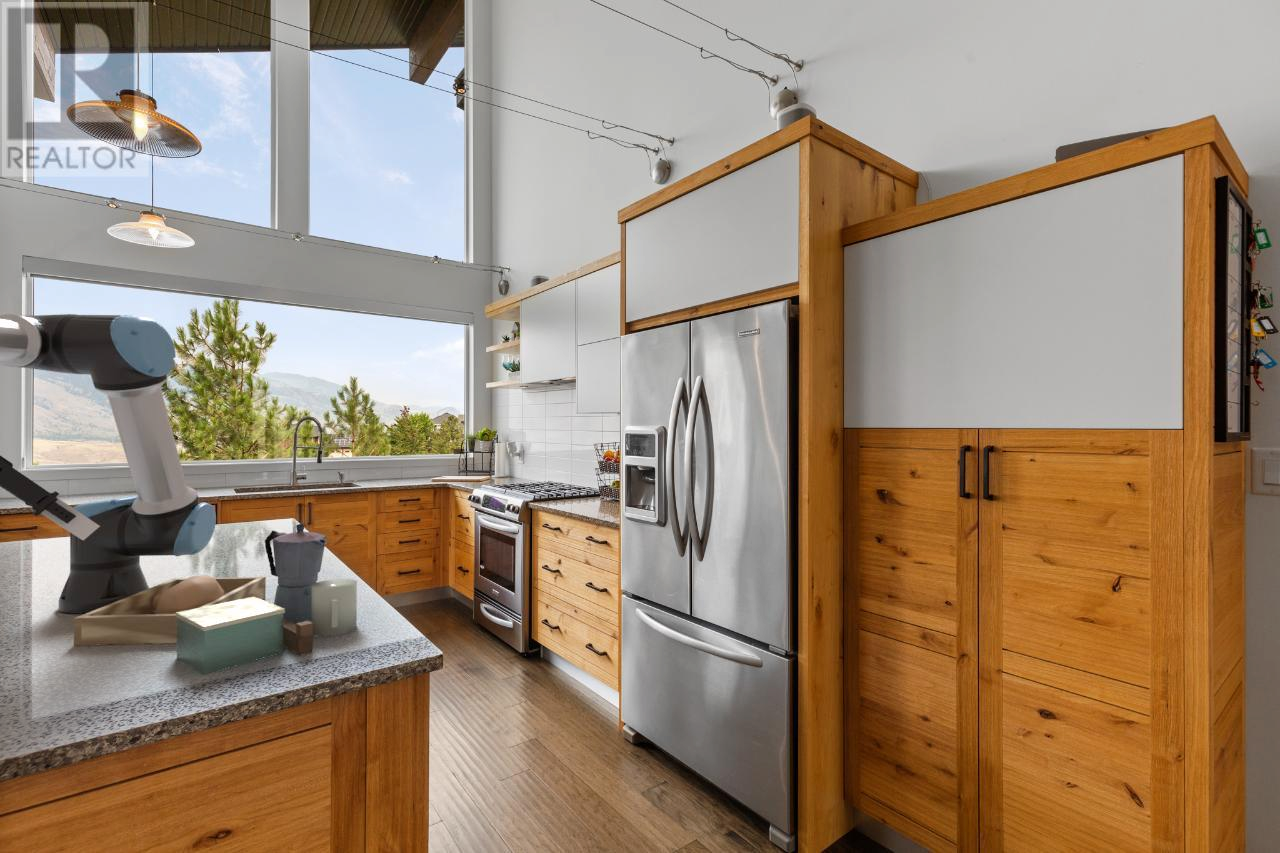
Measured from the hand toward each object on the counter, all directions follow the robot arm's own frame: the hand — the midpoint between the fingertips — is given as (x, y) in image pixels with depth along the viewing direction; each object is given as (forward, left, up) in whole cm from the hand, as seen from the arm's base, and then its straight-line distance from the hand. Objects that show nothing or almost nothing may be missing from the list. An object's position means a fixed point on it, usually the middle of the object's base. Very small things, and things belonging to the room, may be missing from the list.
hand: (90, 532), depth 92 cm
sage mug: (-24, +27, -24) cm, 43 cm away
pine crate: (-34, -7, -24) cm, 42 cm away
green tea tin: (-13, +13, -24) cm, 30 cm away
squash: (-34, -7, -24) cm, 42 cm away
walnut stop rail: (-19, +19, -24) cm, 36 cm away
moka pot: (-31, +16, -24) cm, 43 cm away
